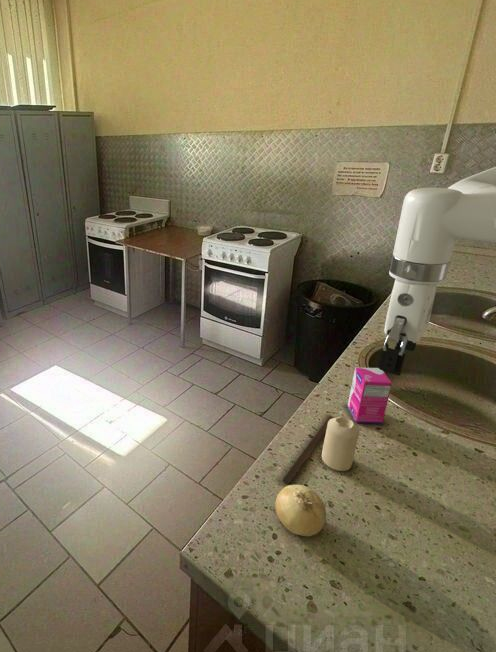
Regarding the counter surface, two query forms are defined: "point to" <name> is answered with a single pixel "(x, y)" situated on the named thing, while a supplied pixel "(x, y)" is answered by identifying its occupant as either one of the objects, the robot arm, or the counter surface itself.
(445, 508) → the counter surface
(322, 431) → the dark brown thin rod
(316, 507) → the onion
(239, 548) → the counter surface
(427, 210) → the robot arm
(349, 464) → the candle
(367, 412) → the supplement box
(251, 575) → the counter surface
